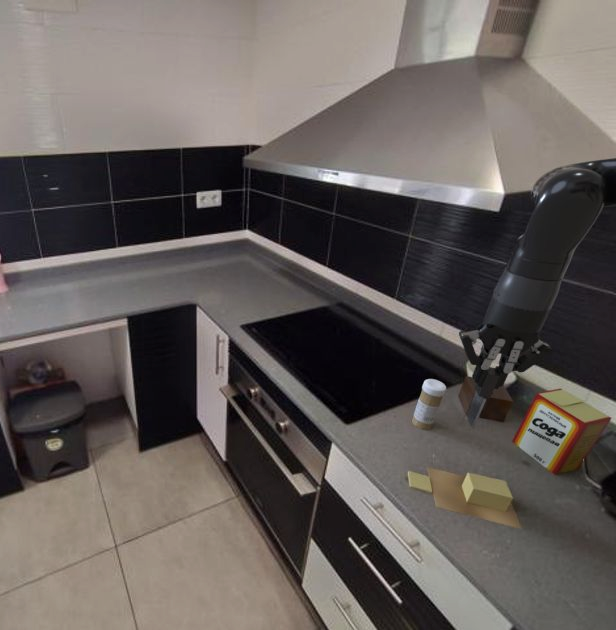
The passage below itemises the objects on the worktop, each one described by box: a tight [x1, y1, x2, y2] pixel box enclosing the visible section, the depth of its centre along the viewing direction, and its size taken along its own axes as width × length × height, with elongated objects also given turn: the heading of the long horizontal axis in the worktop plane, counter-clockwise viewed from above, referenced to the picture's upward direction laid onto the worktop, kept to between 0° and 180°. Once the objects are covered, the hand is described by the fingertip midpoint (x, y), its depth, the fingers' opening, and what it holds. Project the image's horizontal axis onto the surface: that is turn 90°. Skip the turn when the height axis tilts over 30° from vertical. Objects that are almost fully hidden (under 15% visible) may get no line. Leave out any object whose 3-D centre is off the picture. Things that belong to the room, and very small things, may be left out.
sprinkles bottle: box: [411, 378, 447, 431], centre depth 91 cm, size 5×5×13 cm
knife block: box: [457, 375, 514, 423], centre depth 97 cm, size 8×8×8 cm
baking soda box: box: [511, 387, 612, 476], centre depth 81 cm, size 10×6×16 cm
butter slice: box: [407, 470, 433, 494], centre depth 78 cm, size 2×4×4 cm
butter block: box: [462, 472, 514, 512], centre depth 74 cm, size 6×4×4 cm, turn 71°
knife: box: [465, 366, 500, 429], centre depth 70 cm, size 2×4×12 cm, turn 161°
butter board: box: [426, 466, 523, 530], centre depth 76 cm, size 14×10×1 cm
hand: (485, 384), depth 69 cm, fingers closed on knife, 2 cm apart
